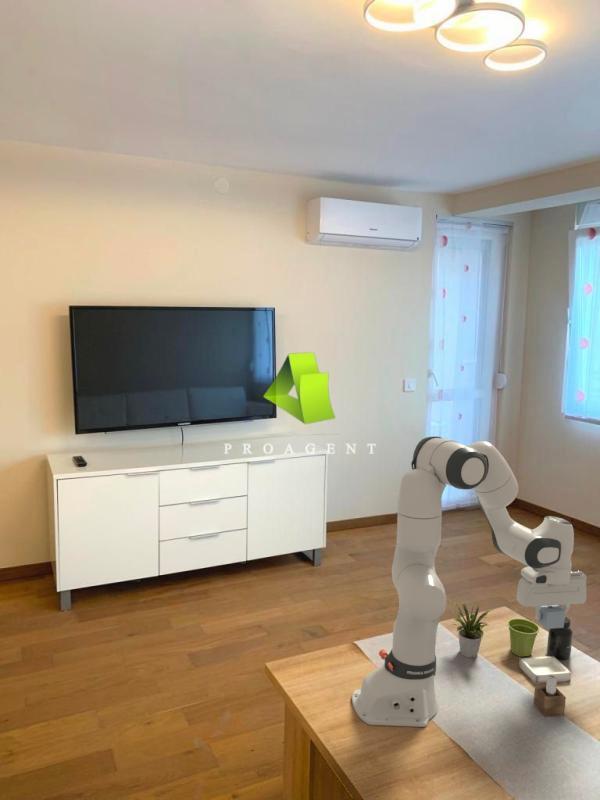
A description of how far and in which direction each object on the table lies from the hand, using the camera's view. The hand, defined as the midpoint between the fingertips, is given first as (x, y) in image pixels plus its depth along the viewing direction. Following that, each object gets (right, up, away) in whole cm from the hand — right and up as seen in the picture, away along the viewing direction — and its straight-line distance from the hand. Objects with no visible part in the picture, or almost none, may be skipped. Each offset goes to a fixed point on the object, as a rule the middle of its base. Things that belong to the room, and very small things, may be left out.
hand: (549, 618), depth 182 cm
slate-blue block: (0, -2, 0) cm, 2 cm away
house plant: (-21, -15, +13) cm, 29 cm away
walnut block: (-6, -19, -15) cm, 25 cm away
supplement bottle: (+8, -16, +13) cm, 22 cm away
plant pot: (-3, -16, +14) cm, 21 cm away
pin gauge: (-6, -19, -15) cm, 25 cm away
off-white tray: (-1, -17, +3) cm, 17 cm away
